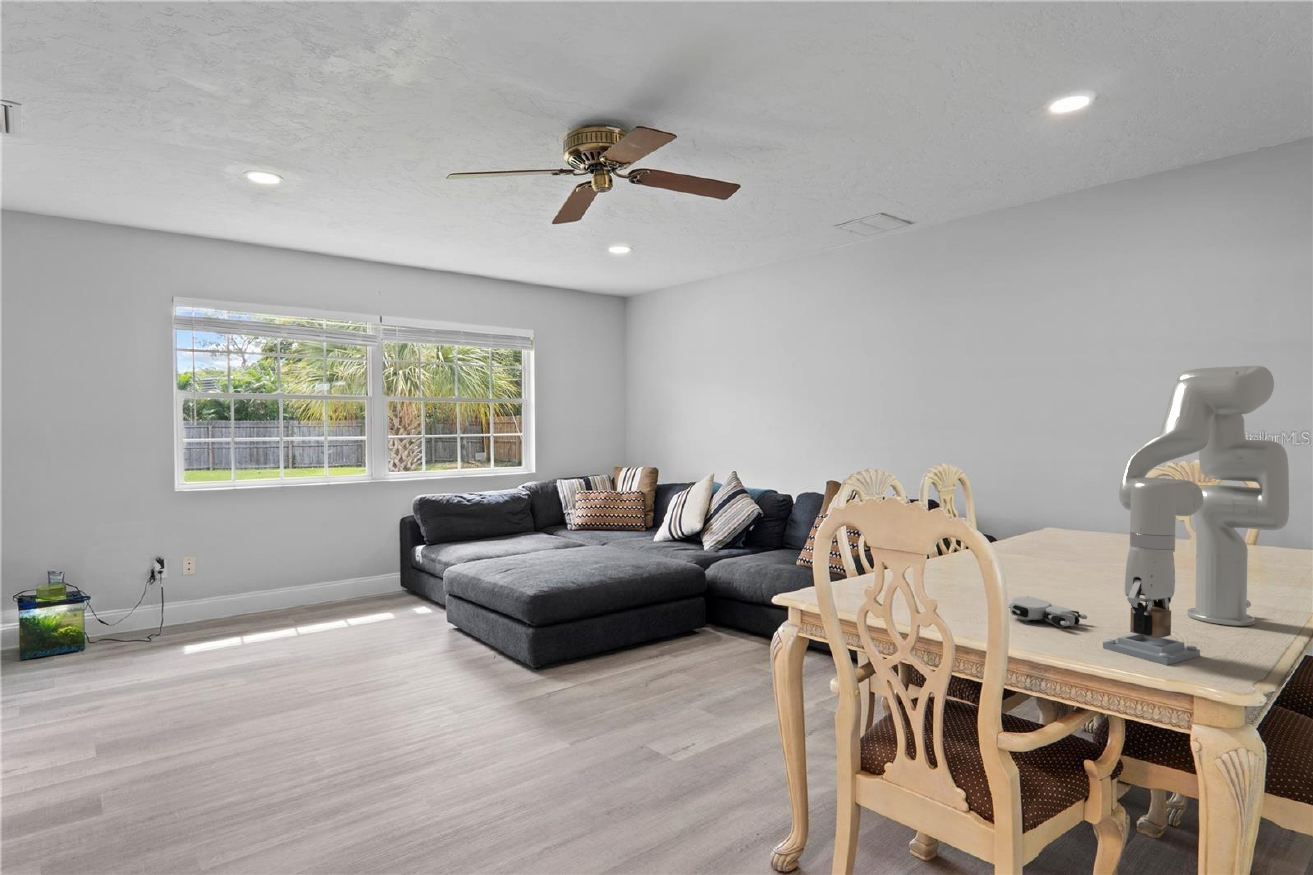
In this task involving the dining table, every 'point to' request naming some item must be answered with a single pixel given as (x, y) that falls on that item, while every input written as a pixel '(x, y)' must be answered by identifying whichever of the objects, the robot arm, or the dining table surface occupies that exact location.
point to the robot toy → (1043, 612)
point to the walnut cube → (1157, 622)
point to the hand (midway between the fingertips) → (1150, 631)
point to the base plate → (1152, 648)
